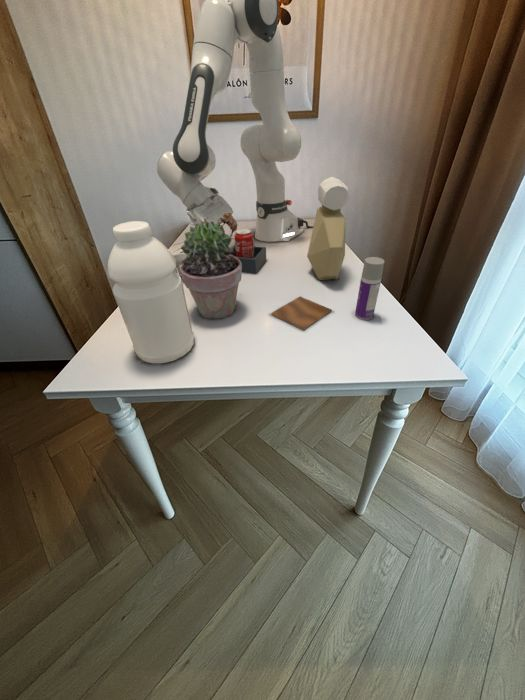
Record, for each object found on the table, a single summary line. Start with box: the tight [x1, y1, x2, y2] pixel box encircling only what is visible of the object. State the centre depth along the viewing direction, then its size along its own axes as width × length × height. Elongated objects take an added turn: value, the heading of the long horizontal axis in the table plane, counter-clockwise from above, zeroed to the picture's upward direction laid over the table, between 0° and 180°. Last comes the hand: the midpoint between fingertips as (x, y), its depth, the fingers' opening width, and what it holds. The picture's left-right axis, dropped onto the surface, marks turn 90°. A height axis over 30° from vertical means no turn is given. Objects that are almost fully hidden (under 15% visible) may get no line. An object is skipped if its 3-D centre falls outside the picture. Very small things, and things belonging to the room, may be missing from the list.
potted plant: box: [171, 213, 245, 320], centre depth 79 cm, size 18×20×25 cm
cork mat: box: [271, 296, 332, 331], centre depth 84 cm, size 12×11×1 cm
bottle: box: [106, 220, 195, 364], centre depth 66 cm, size 14×14×28 cm
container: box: [354, 256, 386, 321], centre depth 77 cm, size 5×5×15 cm
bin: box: [229, 245, 267, 275], centre depth 109 cm, size 12×12×5 cm
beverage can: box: [233, 228, 255, 259], centre depth 106 cm, size 6×6×12 cm
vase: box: [306, 176, 350, 281], centre depth 94 cm, size 12×24×28 cm, turn 1°
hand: (230, 233), depth 105 cm, fingers open, 8 cm apart
